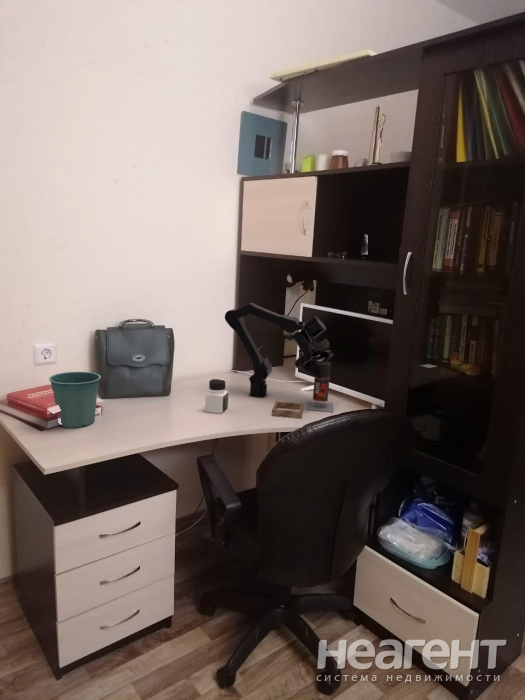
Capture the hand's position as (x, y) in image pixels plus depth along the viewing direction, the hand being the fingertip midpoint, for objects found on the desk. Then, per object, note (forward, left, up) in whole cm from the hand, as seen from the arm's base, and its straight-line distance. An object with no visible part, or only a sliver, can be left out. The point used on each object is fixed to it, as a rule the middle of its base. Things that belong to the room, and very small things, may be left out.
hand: (325, 376), depth 196 cm
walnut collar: (-13, -9, -13) cm, 21 cm away
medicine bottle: (-40, -14, -13) cm, 44 cm away
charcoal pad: (-1, +1, -13) cm, 13 cm away
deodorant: (-1, +1, -10) cm, 10 cm away
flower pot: (-83, -40, -13) cm, 93 cm away
